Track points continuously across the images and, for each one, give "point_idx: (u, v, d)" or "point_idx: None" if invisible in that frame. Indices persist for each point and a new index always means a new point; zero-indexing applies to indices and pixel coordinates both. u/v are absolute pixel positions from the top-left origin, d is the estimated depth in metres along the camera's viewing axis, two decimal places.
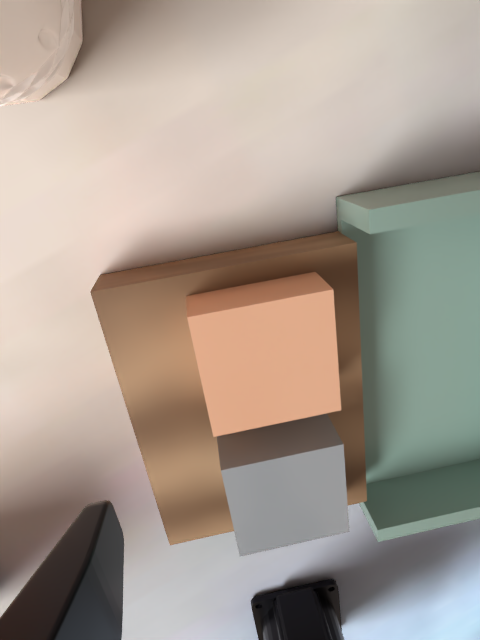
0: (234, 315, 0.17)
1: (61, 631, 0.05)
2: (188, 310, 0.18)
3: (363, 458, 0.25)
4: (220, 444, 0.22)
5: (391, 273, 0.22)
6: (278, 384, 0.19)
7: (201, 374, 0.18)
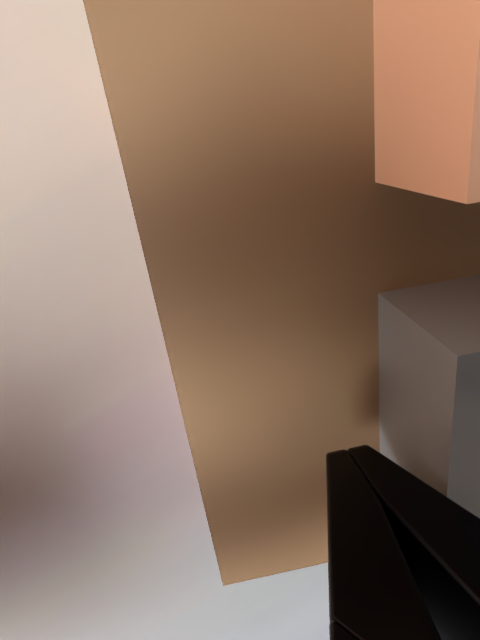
0: None
1: (400, 553, 0.06)
2: None
3: None
4: (404, 305, 0.07)
5: None
6: None
7: None
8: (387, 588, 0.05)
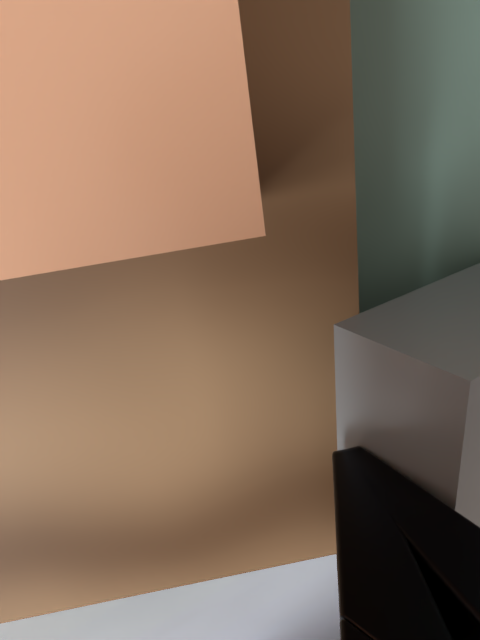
0: None
1: None
2: None
3: None
4: (371, 334, 0.07)
5: None
6: None
7: None
8: (397, 586, 0.05)
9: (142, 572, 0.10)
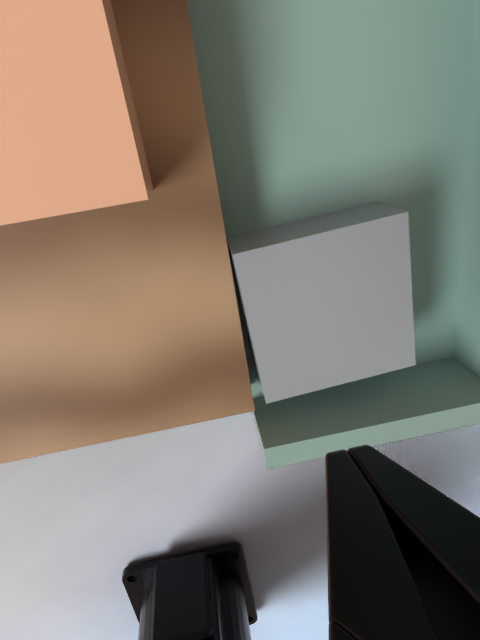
0: None
1: (399, 553, 0.06)
2: None
3: (239, 336, 0.16)
4: (231, 241, 0.16)
5: (264, 15, 0.14)
6: (12, 131, 0.10)
7: None
8: (386, 588, 0.05)
9: (110, 424, 0.17)
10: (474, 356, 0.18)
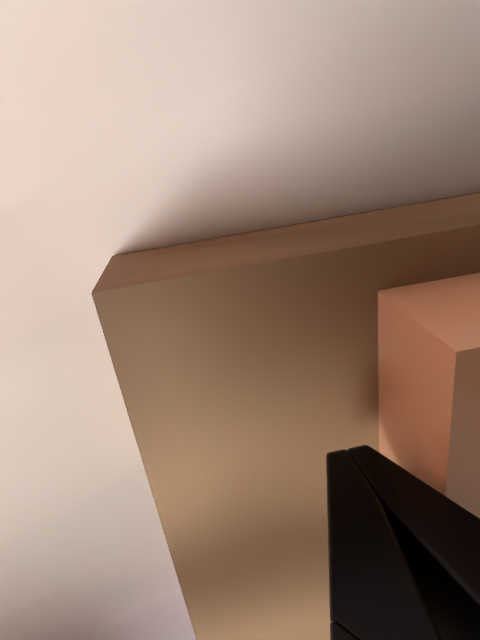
0: None
1: (400, 553, 0.06)
2: (432, 329, 0.06)
3: None
4: None
5: None
6: None
7: None
8: (387, 588, 0.05)
9: None
10: None
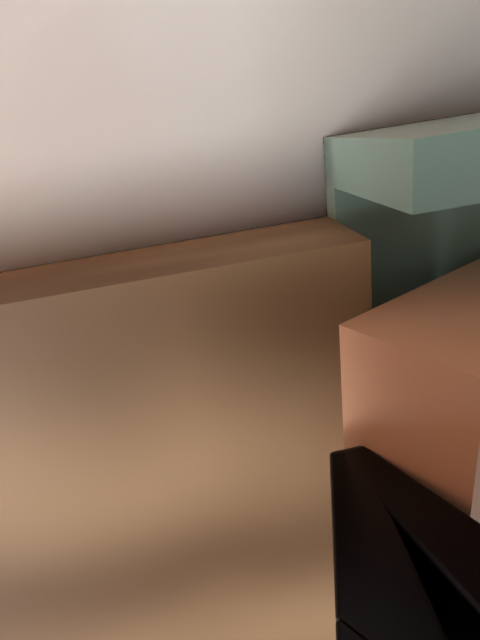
0: None
1: (405, 551, 0.06)
2: (437, 358, 0.06)
3: None
4: None
5: None
6: None
7: None
8: (392, 587, 0.05)
9: None
10: None
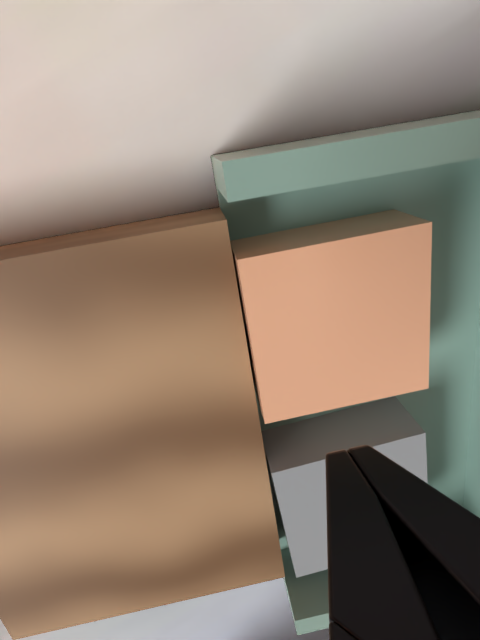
0: (300, 257, 0.13)
1: (400, 553, 0.06)
2: (236, 253, 0.13)
3: (273, 523, 0.18)
4: (266, 441, 0.18)
5: None
6: (351, 354, 0.14)
7: (252, 340, 0.14)
8: (386, 588, 0.05)
9: (157, 594, 0.19)
10: None
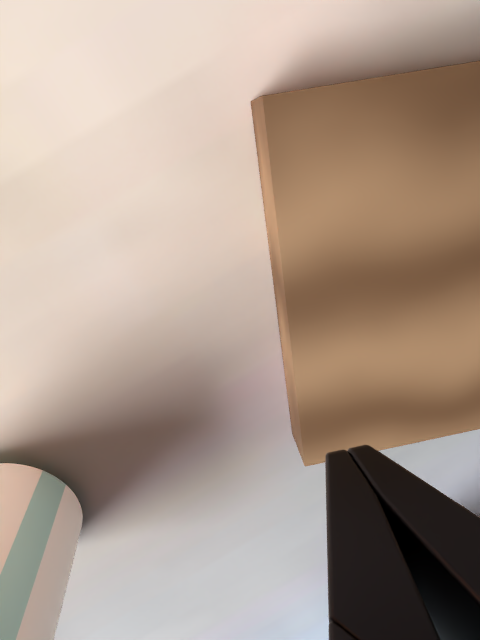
0: None
1: (399, 553, 0.06)
2: None
3: None
4: None
5: None
6: None
7: None
8: (386, 588, 0.05)
9: (432, 426, 0.21)
10: None
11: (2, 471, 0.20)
